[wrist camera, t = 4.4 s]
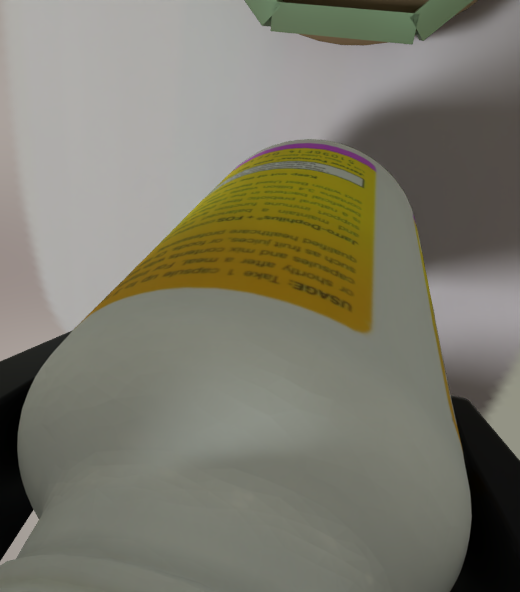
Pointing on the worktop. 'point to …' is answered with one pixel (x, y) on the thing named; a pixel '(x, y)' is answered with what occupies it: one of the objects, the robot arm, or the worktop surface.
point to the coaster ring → (358, 18)
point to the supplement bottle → (254, 403)
